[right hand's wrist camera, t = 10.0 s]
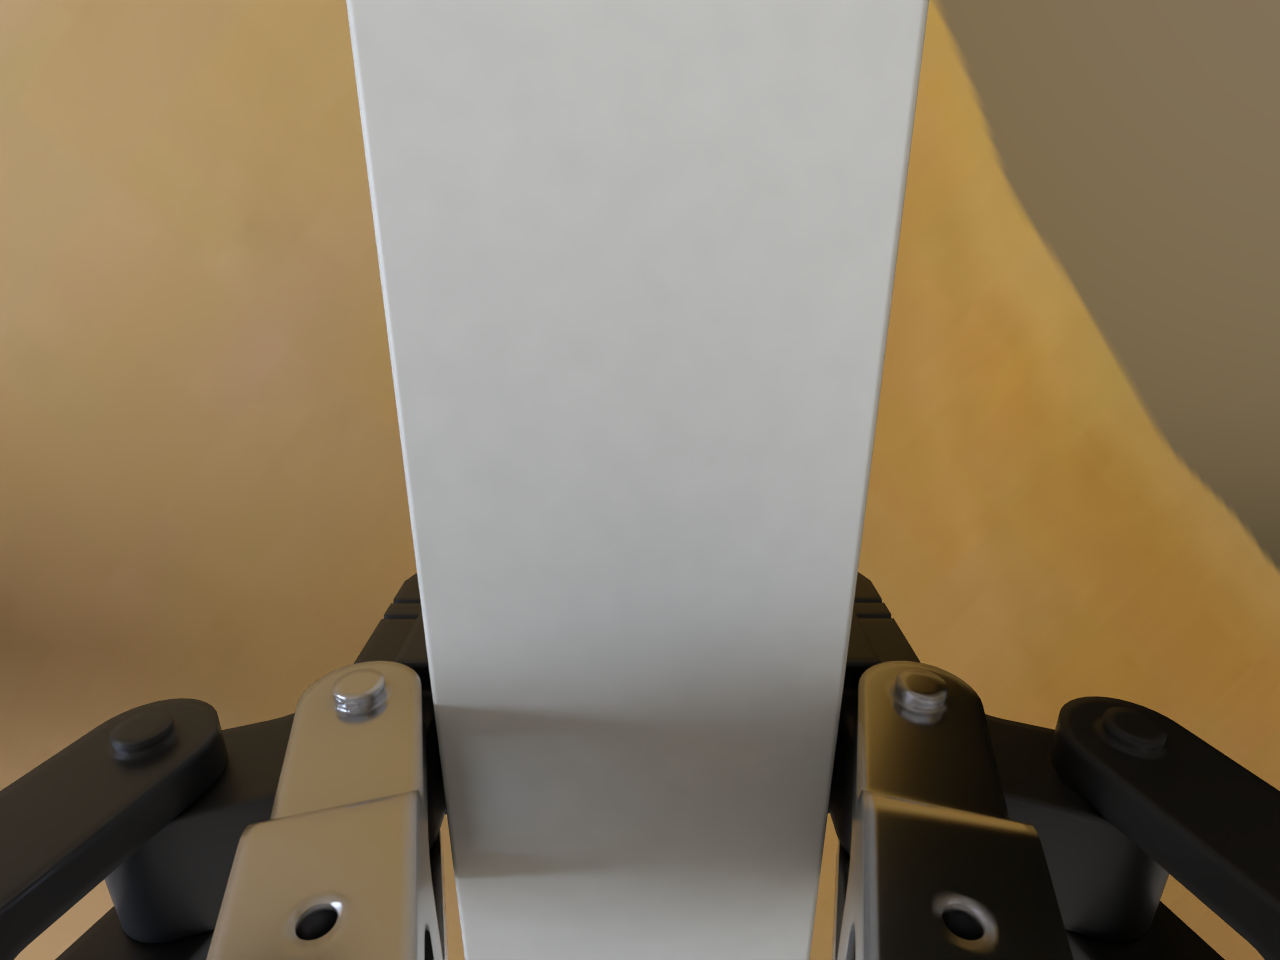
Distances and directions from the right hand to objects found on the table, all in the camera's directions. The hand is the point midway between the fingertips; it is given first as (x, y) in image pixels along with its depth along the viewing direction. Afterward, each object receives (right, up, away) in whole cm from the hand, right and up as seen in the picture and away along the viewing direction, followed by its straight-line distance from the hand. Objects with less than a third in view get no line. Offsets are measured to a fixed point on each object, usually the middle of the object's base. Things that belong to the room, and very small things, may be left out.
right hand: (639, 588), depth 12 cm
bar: (0, -18, +9) cm, 21 cm away
